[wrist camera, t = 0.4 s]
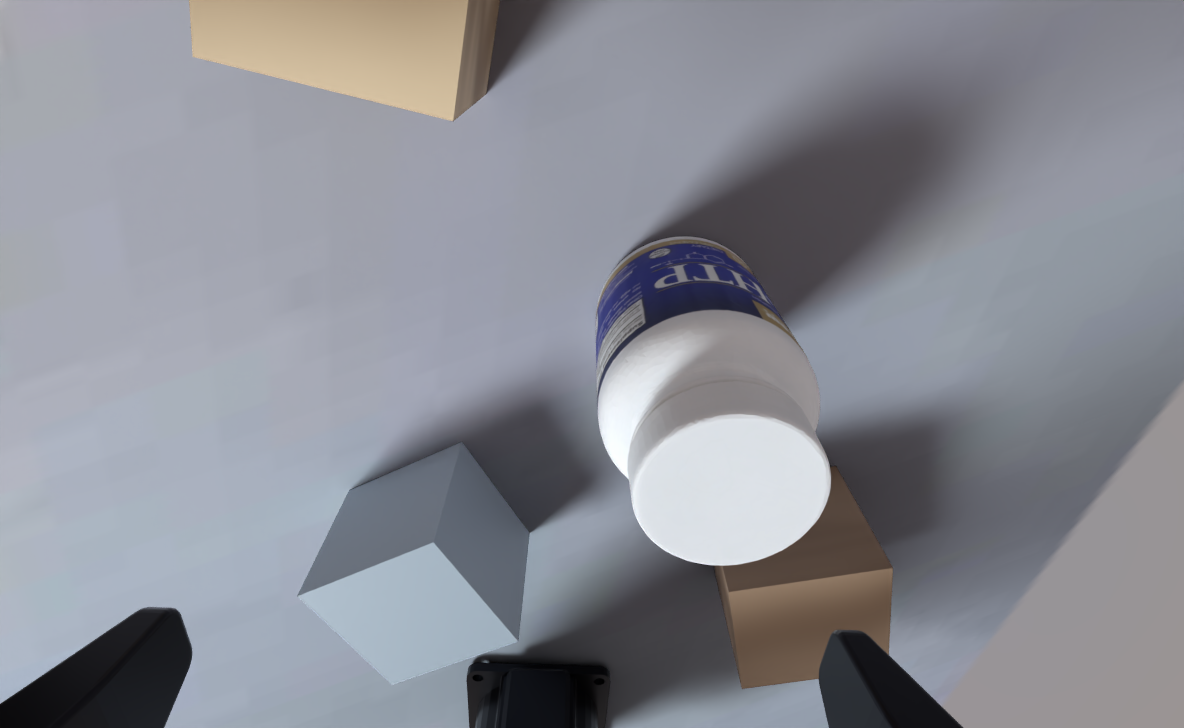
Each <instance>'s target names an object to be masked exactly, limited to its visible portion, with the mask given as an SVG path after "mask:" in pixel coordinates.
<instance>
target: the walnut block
mask: <svg viewBox="0 0 1184 728" xmlns="http://www.w3.org/2000/svg"><path fill="white" fill-rule="evenodd" d="M830 471H831V489H830V494H829V497H828V500H827V503H826V506H825V508H824V510H823V512H822V514H821V515H820V517H819V519H818V520H817V521H816V523H815V524H814V525H813V526H812V527H811V528H810V529H809V530H808V531H807V532H806V533H805V534H804V535H803V536H802V537H801V538H800V539H798V540H797V541H796V542H795V543H793V544H792V545H790V546H788V547H787V548H785V549H784V550H782V551H780V552H778V553H775V554H773V555H771V556H768V557H766V558H763V559H760V560H757V561H753V562H748V563H744V564H738V565H725V566H723V565H714V568H715V575H716V580H717V585H718V589H719V593H720V598H721V602H722V606H723V610H724V615H725V619H726V623H727V627H728V632H729V636H730V640H731V644H732V649H733V653H734V657H735V661H736V666H737V670H738V674H739V678H740V683H741V687H742V689H745V688H752V687H760V686H767V685H775V684H782V683H790V682H797V681H805V680H812V679H819V667H820V664H821V661H822V658H823V655H824V652H825V649H826V646H827V644H828V641H829V638H830V635H831V633H832V632H834V631H835V630H859V631H862V632H864V633H866V634H867V635H868V636H870V637H871V638H872V639H873V640H874V641H875V642H876V643H877V644H878V645H879V646H880V647H881V648H882V649H883V650H884V651H885V652H886V653H887V654H888V655H889V637H890V617H891V597H892V577H893V567H892V565H891V564H890V562H889V560H888V558H887V557H886V555H885V553H884V551H883V549H882V548H881V546H880V544H879V542H878V540H877V539H876V537H875V535H874V533H873V531H872V530H871V528H870V526H869V524H868V522H867V521H866V519H865V517H864V515H863V514H862V512H861V510H860V508H859V506H858V505H857V503H856V501H855V499H854V497H853V496H852V494H851V492H850V490H849V488H848V487H847V485H846V483H845V481H844V480H843V478H842V476H841V474H840V472H839V471H838V469H837V467H836V466H833V467H830Z"/></svg>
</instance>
